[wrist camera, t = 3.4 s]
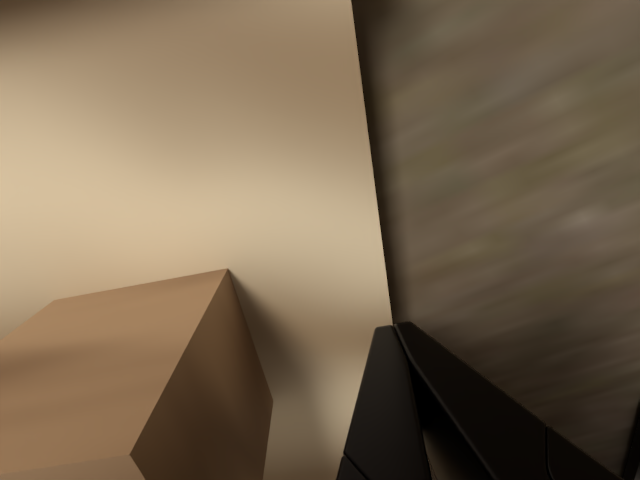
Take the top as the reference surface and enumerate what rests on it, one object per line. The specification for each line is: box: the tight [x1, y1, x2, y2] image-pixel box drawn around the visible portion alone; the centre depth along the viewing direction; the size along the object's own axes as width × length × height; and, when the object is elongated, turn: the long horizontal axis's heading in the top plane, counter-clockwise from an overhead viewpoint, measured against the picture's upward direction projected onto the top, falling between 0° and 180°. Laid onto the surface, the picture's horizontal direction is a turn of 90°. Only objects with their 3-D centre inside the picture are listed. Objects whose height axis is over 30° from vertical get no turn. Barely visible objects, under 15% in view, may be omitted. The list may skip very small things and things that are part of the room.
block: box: [0, 268, 273, 480], centre depth 7 cm, size 4×4×4 cm
